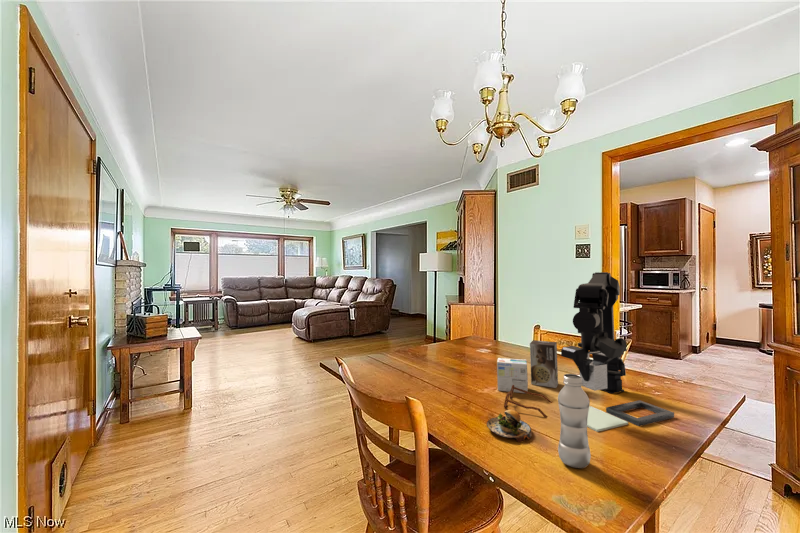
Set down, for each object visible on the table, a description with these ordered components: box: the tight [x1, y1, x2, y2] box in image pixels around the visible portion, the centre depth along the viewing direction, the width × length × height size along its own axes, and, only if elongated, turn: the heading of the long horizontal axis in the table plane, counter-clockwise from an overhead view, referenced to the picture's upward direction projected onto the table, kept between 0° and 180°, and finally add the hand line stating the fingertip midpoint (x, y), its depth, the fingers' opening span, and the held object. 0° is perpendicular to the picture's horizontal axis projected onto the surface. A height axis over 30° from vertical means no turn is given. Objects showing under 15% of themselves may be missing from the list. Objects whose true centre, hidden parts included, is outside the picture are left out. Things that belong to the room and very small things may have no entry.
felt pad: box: [587, 405, 629, 433], centre depth 98 cm, size 12×12×1 cm
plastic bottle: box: [557, 373, 592, 469], centre depth 75 cm, size 6×7×20 cm
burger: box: [486, 404, 533, 443], centre depth 91 cm, size 12×12×8 cm
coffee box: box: [529, 339, 559, 389], centre depth 128 cm, size 9×6×16 cm
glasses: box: [503, 385, 553, 418], centre depth 108 cm, size 13×13×5 cm
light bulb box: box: [496, 357, 529, 394], centre depth 123 cm, size 11×7×11 cm, turn 71°
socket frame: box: [605, 399, 675, 427], centre depth 100 cm, size 10×15×2 cm, turn 110°
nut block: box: [579, 359, 607, 392], centre depth 98 cm, size 5×5×7 cm
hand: (593, 379), depth 98 cm, fingers closed on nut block, 5 cm apart
